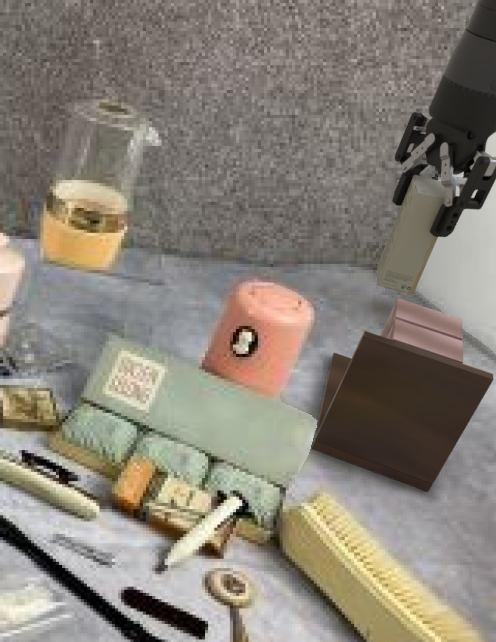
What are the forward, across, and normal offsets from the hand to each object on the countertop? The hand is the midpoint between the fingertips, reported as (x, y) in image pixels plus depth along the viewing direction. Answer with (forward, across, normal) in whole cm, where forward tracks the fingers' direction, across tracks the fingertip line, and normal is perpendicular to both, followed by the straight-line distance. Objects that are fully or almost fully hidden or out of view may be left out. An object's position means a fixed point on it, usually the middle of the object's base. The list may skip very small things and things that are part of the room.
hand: (418, 219), depth 109 cm
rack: (+12, -22, +14) cm, 29 cm away
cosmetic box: (+8, 0, 0) cm, 8 cm away
